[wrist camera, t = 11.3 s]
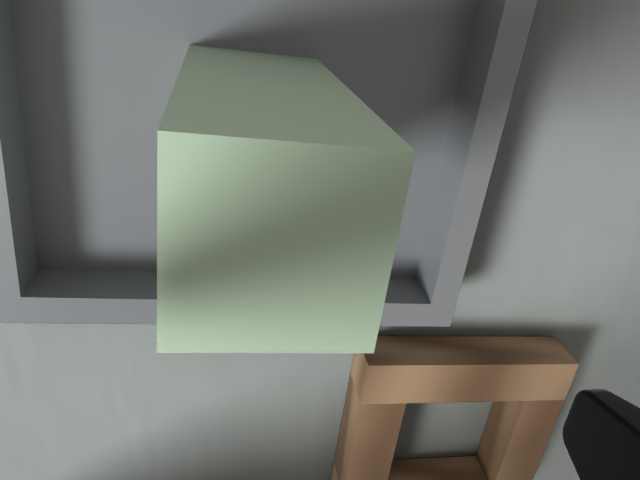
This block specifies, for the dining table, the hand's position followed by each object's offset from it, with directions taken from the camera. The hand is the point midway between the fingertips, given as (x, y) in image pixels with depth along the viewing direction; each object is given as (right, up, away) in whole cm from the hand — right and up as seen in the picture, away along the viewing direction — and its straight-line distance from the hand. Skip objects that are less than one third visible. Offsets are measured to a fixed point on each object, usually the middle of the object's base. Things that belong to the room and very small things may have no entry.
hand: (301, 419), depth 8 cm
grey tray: (-2, +7, +11) cm, 13 cm away
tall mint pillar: (-2, +7, +10) cm, 12 cm away
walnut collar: (+6, -6, +19) cm, 20 cm away
